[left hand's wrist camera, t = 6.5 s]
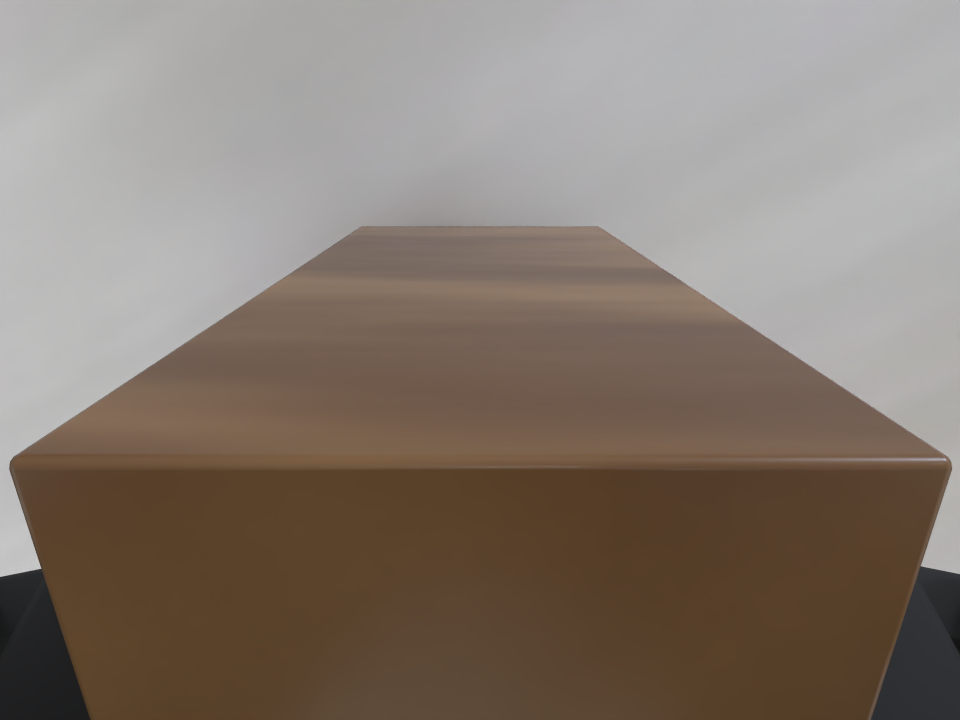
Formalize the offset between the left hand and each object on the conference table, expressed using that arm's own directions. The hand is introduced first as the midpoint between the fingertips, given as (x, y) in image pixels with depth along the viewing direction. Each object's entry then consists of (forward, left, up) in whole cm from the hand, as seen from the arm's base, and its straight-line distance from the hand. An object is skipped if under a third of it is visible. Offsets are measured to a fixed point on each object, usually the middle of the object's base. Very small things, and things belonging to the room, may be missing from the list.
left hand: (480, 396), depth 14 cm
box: (+8, +2, -2) cm, 9 cm away
